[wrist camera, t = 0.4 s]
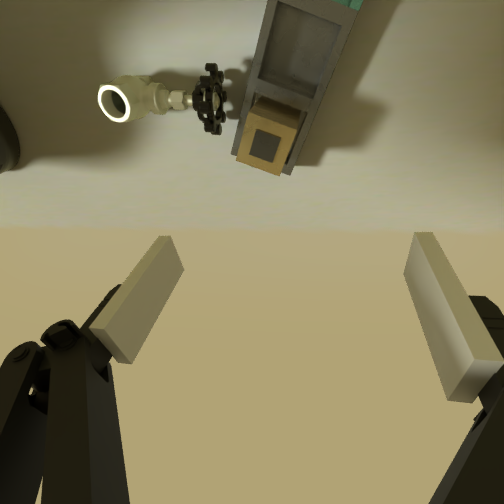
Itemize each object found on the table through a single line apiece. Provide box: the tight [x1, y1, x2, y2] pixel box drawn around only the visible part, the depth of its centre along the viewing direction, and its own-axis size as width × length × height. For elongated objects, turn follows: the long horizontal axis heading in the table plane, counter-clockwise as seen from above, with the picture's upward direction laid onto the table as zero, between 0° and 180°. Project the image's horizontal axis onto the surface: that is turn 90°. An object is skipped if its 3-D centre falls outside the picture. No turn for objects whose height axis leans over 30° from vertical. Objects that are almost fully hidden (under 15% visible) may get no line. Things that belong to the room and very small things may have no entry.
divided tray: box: [231, 0, 363, 175], centre depth 26 cm, size 7×22×3 cm, turn 163°
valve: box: [98, 63, 227, 135], centre depth 29 cm, size 7×7×12 cm
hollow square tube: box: [236, 96, 301, 176], centre depth 28 cm, size 5×5×8 cm
